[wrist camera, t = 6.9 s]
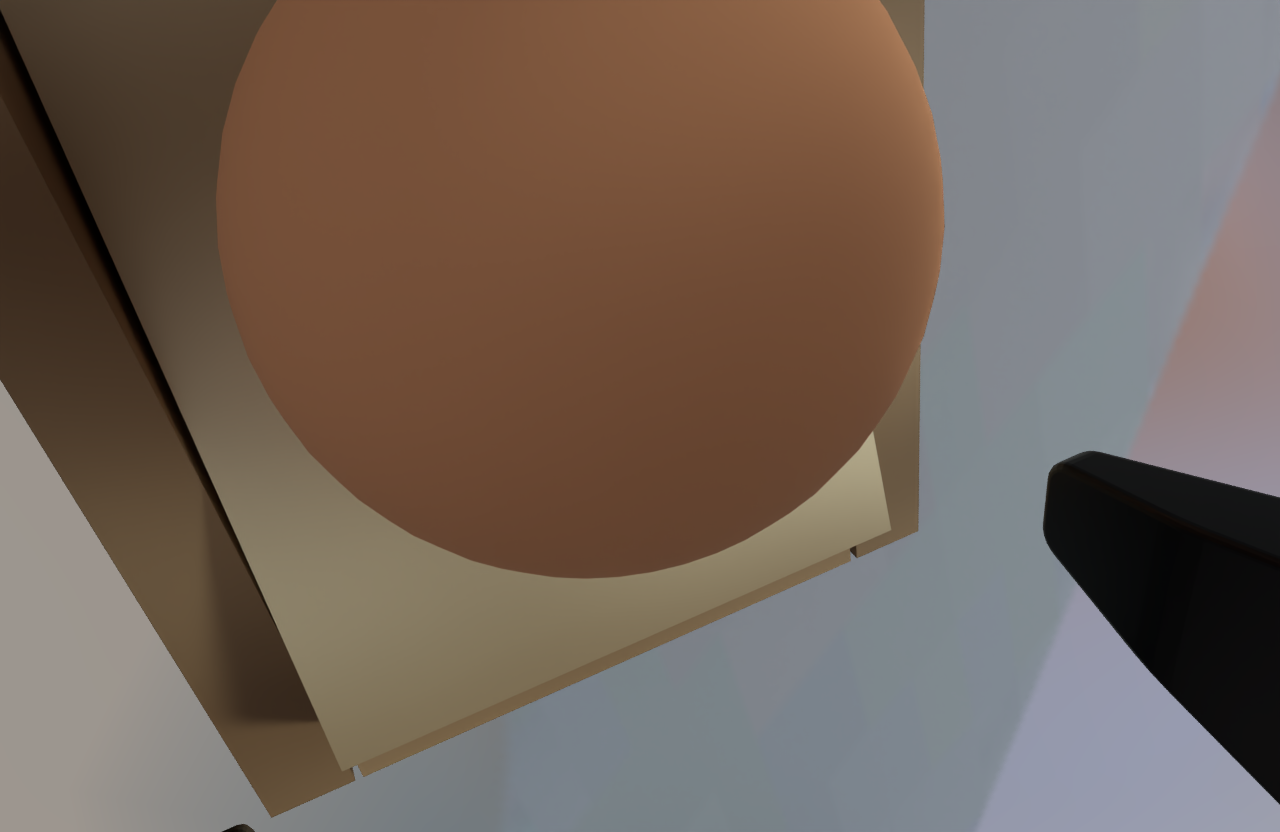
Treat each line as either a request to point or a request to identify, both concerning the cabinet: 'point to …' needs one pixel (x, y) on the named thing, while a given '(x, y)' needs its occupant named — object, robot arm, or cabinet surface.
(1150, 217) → the cabinet surface
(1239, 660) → the robot arm
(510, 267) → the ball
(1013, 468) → the cabinet surface
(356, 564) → the wooden tray
